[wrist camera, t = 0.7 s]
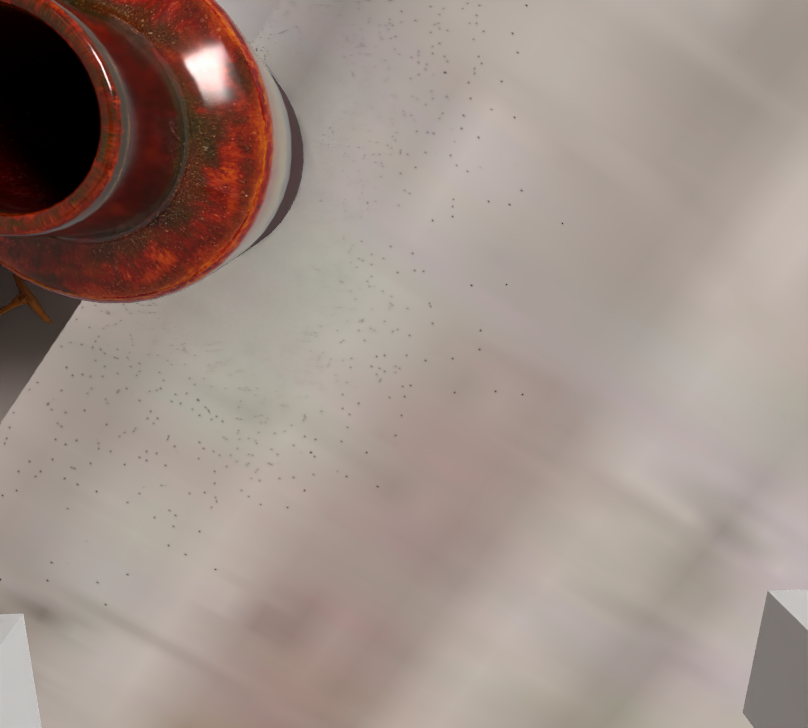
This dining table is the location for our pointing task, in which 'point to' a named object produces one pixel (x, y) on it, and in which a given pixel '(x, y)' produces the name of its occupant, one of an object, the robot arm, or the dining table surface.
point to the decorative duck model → (25, 300)
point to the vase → (136, 146)
